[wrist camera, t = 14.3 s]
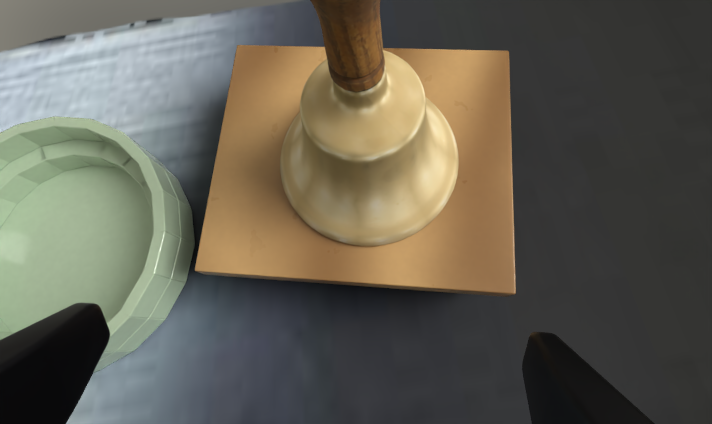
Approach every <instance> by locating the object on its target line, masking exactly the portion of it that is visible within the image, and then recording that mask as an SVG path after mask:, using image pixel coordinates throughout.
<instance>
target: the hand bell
mask: <svg viewBox="0 0 712 424" xmlns="http://www.w3.org/2000/svg"><path fill="white" fill-rule="evenodd" d="M310 1H311V2H312V4H313V5H314V7H315V9H316V11H317V14H318V17H319V20H320V24H321V28H322V33H323V38H324V45H325V51H326V56H327V59H326V60H325V61H323V62H322V63H321V64H320V65H319V66H318V67H317V68H316V69H315V70H314V71H313V72H312V74H311V75H310V76H309V78H308V80H307V81H306V83H305V86H304V88H303V91H302V95H301V101H300V112H299V114H298V115H297V116H296V117H295V119H294V120H293V122H292V124H291V125H290V127H289V129H288V131H287V133H286V136H285V139H284V142H283V145H282V149H281V156H280V174H281V180H282V184H283V188H284V191H285V193H286V196H287V198H288V200H289V202H290V204H291V205H292V207H293V208H294V210H295V211H296V212H297V214H298V215H299V216H300V217H301V218H302V219H303V220H304V222H305V223H307V224H308V225H309V226H310V227H311V228H313V229H315V230H316V231H317V232H319V233H320V234H321V235H323V236H325V237H327V238H330V239H333V240H336V241H338V242H341V243H345V244H350V245H356V246H379V245H386V244H390V243H394V242H397V241H400V240H403V239H405V238H407V237H410V236H412V235H414V234H415V233H417V232H418V231H420V230H422V229H423V228H424V227H426V226H427V225H428V224H429V223H431V222H432V221H433V220H434V219H435V218H436V217H437V216H438V214H439V213H440V212H441V211H442V209H443V208H444V207H445V205H446V203H447V202H448V200H449V198H450V196H451V194H452V192H453V190H454V187H455V184H456V179H457V175H458V166H459V159H458V148H457V143H456V140H455V136H454V134H453V131H452V129H451V127H450V125H449V123H448V121H447V120H446V118H445V117H444V116H443V114H442V113H441V112H440V110H439V109H438V108H437V107H436V106H435V105H434V104H433V103H432V102H431V101H430V100H429V99H428V98H426V96H425V92H424V88H423V85H422V83H421V81H420V79H419V77H418V75H417V74H416V72H415V71H414V70H413V69H412V67H411V66H410V65H409V64H408V63H407V62H405V61H404V60H403V59H401V58H400V57H398V56H396V55H394V54H392V53H390V52H387V51H384V50H383V44H382V33H381V23H380V13H379V9H380V0H310Z"/></svg>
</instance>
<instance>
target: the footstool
mask: <svg viewBox="0 0 712 424" xmlns="http://www.w3.org/2000/svg"><path fill="white" fill-rule="evenodd" d="M383 50H384V51H387V52H390V53H392V54H394V55H396V56H398V57H400V58H401V59H403V60H404V61H405V62H407V63H408V64H409V65H410V66H411V67H412V69H413V70H414V71H415V72H416V74H417V75H418V77H419V79H420V81H421V83H422V85H423V88H424V92H425V96H426V98H428V99H429V100H430V101H431V102H432V103H433V104H434V105H435V106H436V107H437V108H438V109H439V110H440V112H441V113H442V114H443V116H444V117H445V118H446V120H447V121H448V123H449V125H450V127H451V129H452V131H453V134H454V136H455V140H456V143H457V148H458V159H459V166H458V175H457V179H456V184H455V187H454V190H453V192H452V194H451V196H450V198H449V200H448V202H447V203H446V205H445V207H444V208H443V209H442V211H441V212H440V213H439V214H438V216H437V217H436V218H435V219H434V220H433V221H432V222H431V223H429V224H428V225H427V226H426V227H424V228H423V229H422V230H420V231H418V232H417V233H415V234H414V235H412V236H410V237H407V238H405V239H403V240H400V241H397V242H394V243H390V244H386V245H379V246H356V245H350V244H345V243H341V242H338V241H336V240H333V239H330V238H327V237H325V236H323V235H321V234H320V233H319V232H317V231H316V230H315V229H313V228H311V227H310V226H309V225H308V224H307V223H305V222H304V220H303V219H302V218H301V217H300V216H299V215H298V214H297V212H296V211H295V210H294V208H293V207H292V205H291V204H290V202H289V200H288V198H287V196H286V193H285V191H284V188H283V184H282V180H281V174H280V156H281V149H282V145H283V142H284V139H285V136H286V133H287V131H288V129H289V127H290V125H291V124H292V122H293V120H294V119H295V117H296V116H297V115H298V114H299V112H300V101H301V95H302V91H303V88H304V86H305V83H306V81H307V80H308V78H309V76H310V75H311V74H312V72H313V71H314V70H315V69H316V68H317V67H318V66H319V65H320V64H321V63H322V62H323V61H325V60H326V59H327V56H326V51H325V47H302V46H254V45H237V49H236V54H235V60H234V65H233V70H232V76H231V81H230V86H229V91H228V97H227V102H226V107H225V112H224V118H223V123H222V128H221V133H220V139H219V144H218V149H217V154H216V160H215V165H214V170H213V175H212V181H211V186H210V191H209V197H208V202H207V207H206V212H205V218H204V223H203V228H202V233H201V239H200V244H199V249H198V254H197V260H196V265H195V271H196V272H199V273H202V274H205V275H217V276H231V277H245V278H258V279H272V280H286V281H299V282H313V283H327V284H341V285H354V286H368V287H382V288H395V289H409V290H423V291H437V292H450V293H464V294H478V295H491V296H505V297H507V296H510V295H514V294H515V293H516V286H515V251H514V216H513V181H512V146H511V111H510V76H509V51H490V50H443V49H396V48H383Z"/></svg>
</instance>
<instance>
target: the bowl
mask: <svg viewBox="0 0 712 424" xmlns="http://www.w3.org/2000/svg"><path fill="white" fill-rule="evenodd" d="M194 244H195V242H194V230H193V219H192V209H191V207H190V205H189V202H188V200H187V198H186V196H185V194H184V192H183V189H182V187H181V185H180V183H179V181H178V179H177V178H176V177H175V176H174V175H173V174H172V173H171V172H170V171H169V170H168V169H167V168H166V167H165V166H164V165H163V164H162V163H161V162H160V161H159V160H158V159H157V158H156V157H154V156H153V155H152V154H151V153H149V152H148V151H147V150H145V149H144V148H143V147H141V146H140V145H139V144H138V143H136V142H135V141H134V140H132V139H131V138H130V137H128V136H127V135H126V134H124V133H123V132H121V131H119V130H116V129H114V128H112V127H109V126H107V125H105V124H102V123H100V122H98V121H95V120H93V119H84V118H70V117H50V118H45V119H40V120H36V121H31V122H27V123H22V124H18V125H15V126H13V127H11V128H9V129H7V130H5V131H3V132H1V133H0V340H1V339H3V338H5V337H7V336H9V335H11V334H13V333H15V332H17V331H20V330H22V329H24V328H26V327H28V326H30V325H32V324H34V323H36V322H38V321H40V320H42V319H44V318H46V317H48V316H50V315H52V314H54V313H56V312H59V311H61V310H63V309H65V308H67V307H69V306H71V305H73V304H75V303H81V302H82V303H95V304H98V305H99V306H100V307H101V309H102V312H103V315H104V317H105V320H106V323H107V325H108V328H109V331H110V339H109V342H108V345H107V347H106V349H105V351H104V353H103V354H102V356H101V358H100V360H99V362H98V364H97V366H96V368H95V370H94V372H96V371H99V370H101V369H103V368H105V367H106V366H108V365H110V364H112V363H114V362H115V361H117V360H119V359H121V358H122V357H124V356H126V355H128V354H129V353H131V352H133V351H134V350H136V349H137V348H138V347H139V346H140V345H141V344H142V343H143V342H144V341H145V340H146V339H147V338H148V337H149V336H150V335H151V334H152V333H153V332H154V331H155V330H156V329H157V328H158V327H159V326H160V325H161V324H162V323H163V322H164V321H165V319H166V318H167V316H168V314H169V312H170V311H171V309H172V307H173V305H174V303H175V302H176V300H177V298H178V296H179V294H180V293H181V291H182V289H183V287H184V285H185V282H186V281H187V276H188V272H189V268H190V263H191V259H192V254H193V250H194ZM94 372H93V373H94Z"/></svg>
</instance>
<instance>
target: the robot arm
mask: <svg viewBox="0 0 712 424" xmlns="http://www.w3.org/2000/svg"><path fill="white" fill-rule="evenodd" d="M109 339H110V331H109V328H108V325H107V323H106V320H105V317H104V315H103V312H102V309H101V307H100V306H99V305H98V304H95V303H82V302H81V303H75V304H73V305H71V306H69V307H67V308H65V309H63V310H61V311H59V312H56V313H54V314H52V315H50V316H48V317H46V318H44V319H42V320H40V321H38V322H36V323H34V324H32V325H30V326H28V327H26V328H24V329H22V330H20V331H17V332H15V333H13V334H11V335H9V336H7V337H5V338H3V339H1V340H0V424H66V422H67V421H68V419H69V417H70V416H71V414H72V412H73V411H74V409H75V407H76V405H77V403H78V401H79V400H80V398H81V396H82V394H83V392H84V390H85V388H86V386H87V384H88V382H89V380H90V378H91V376H92V374H93V372H94V370H95V368H96V366H97V364H98V362H99V360H100V358H101V356H102V354H103V353H104V351H105V349H106V347H107V345H108V342H109ZM522 370H523V377H524V383H525V388H526V393H527V399H528V404H529V410H530V415H531V421H532V424H654V423H653V422H652V421H651V420H650V419H649V418H648V417H647V416H646V415H644V414H643V413H642V412H641V411H640V410H639V409H638V408H637V407H635V406H634V405H633V404H632V403H631V402H630V401H629V400H628V399H627V398H625V397H624V396H623V395H622V394H621V393H620V392H619V391H618V390H617V389H615V388H614V387H613V386H612V385H611V384H610V383H609V382H608V381H607V380H605V379H604V378H603V377H602V376H601V375H600V374H599V373H598V372H597V371H595V370H594V369H593V368H592V367H591V366H590V365H589V364H588V363H587V362H585V361H584V360H583V359H582V358H581V357H580V356H579V355H578V354H576V353H575V352H574V351H573V350H572V349H571V348H570V347H569V346H568V345H566V344H565V343H564V342H563V341H562V340H561V339H560V338H559V337H558V336H556V335H555V334H553V333H544V332H533V333H531V335H530V337H529V340H528V344H527V347H526V351H525V355H524V359H523V364H522Z"/></svg>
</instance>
